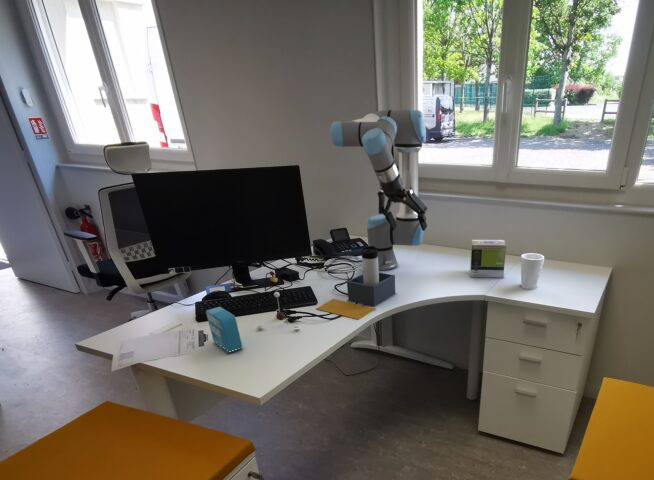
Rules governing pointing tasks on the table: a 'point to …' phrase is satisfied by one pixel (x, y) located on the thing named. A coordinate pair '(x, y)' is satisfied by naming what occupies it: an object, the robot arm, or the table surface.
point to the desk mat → (345, 309)
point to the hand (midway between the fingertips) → (409, 228)
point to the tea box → (487, 258)
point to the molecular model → (278, 315)
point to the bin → (371, 290)
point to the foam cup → (530, 269)
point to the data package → (224, 329)
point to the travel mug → (370, 266)
